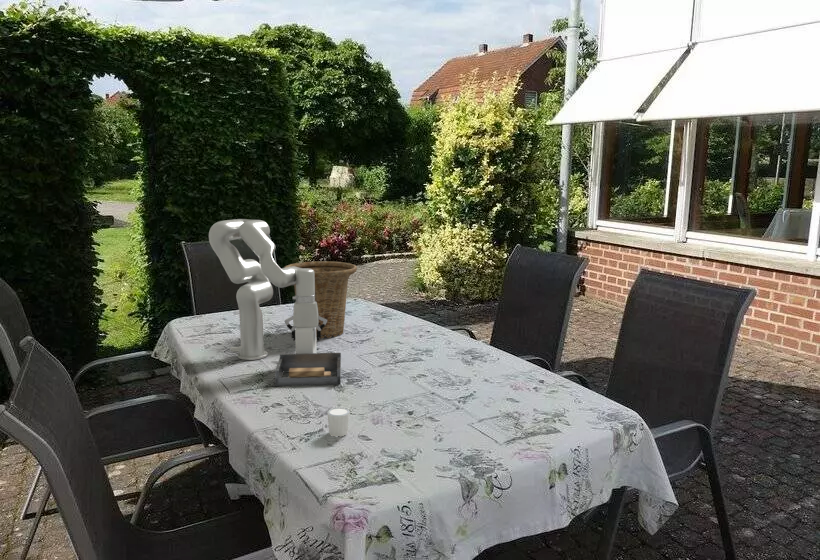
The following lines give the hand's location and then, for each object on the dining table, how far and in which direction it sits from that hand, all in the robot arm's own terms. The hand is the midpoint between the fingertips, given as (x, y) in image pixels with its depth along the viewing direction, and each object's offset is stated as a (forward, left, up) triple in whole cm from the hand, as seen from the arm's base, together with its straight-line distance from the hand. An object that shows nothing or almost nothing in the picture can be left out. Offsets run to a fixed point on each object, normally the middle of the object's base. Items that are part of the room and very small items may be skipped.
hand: (306, 339), depth 256 cm
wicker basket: (+4, +50, -11) cm, 51 cm away
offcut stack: (+2, -23, -11) cm, 25 cm away
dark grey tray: (+2, -17, -10) cm, 20 cm away
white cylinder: (+14, -70, -11) cm, 72 cm away
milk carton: (0, 0, -11) cm, 11 cm away
